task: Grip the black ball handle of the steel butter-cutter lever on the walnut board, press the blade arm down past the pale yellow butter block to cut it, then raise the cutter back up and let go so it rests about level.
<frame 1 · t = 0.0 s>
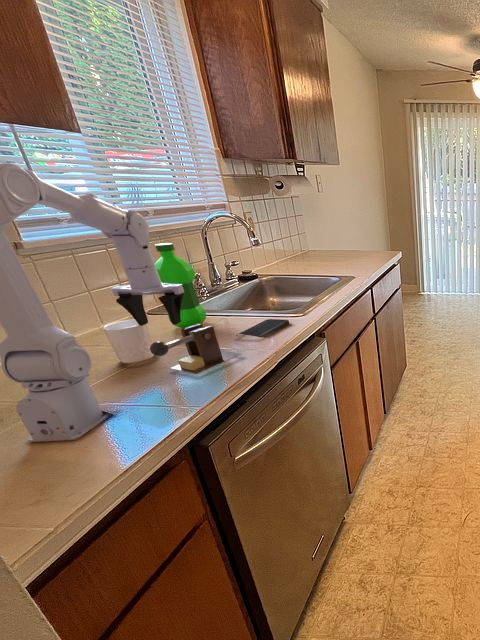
hand: (160, 323, 96), 10 cm above the counter, tool pointing down, fingers open, 7 cm apart
phone: (264, 331, 119), on the counter
white cup: (140, 362, 100), on the counter
butter: (193, 366, 94), resting on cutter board
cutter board: (209, 365, 98), on the counter
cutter: (179, 341, 90), point 8 cm above the counter, hinge at 0.0°
plastic bottle: (191, 326, 125), on the counter
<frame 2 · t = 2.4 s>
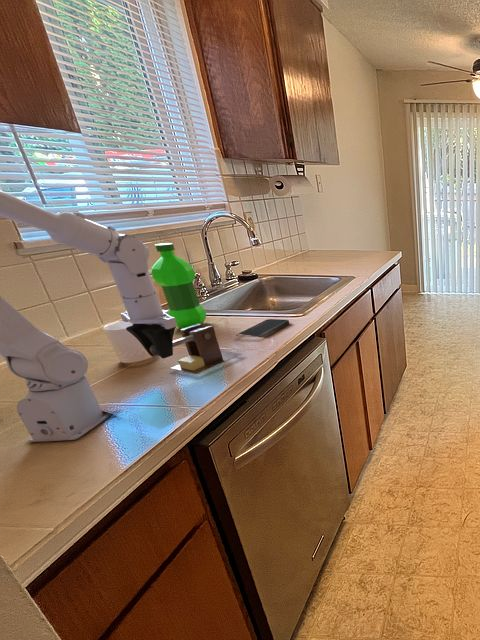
hand: (161, 355, 87), 6 cm above the counter, tool pointing down, fingers closed on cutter, 3 cm apart
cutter: (179, 341, 90), point 8 cm above the counter, hinge at 0.0°, touching gripper
everything else where it was.
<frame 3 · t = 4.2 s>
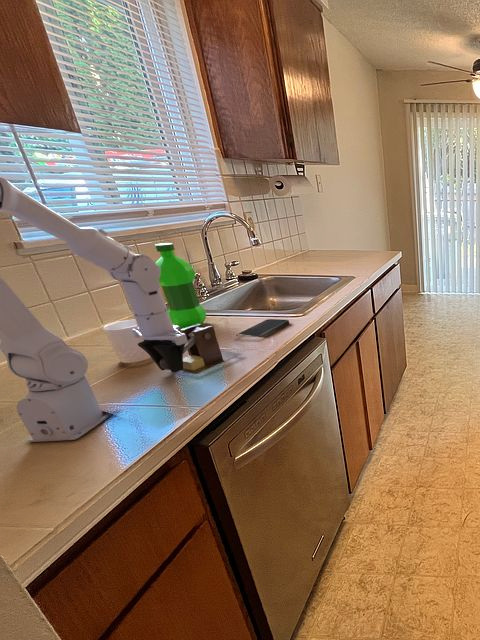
hand: (172, 369, 90), 2 cm above the counter, tool pointing down, fingers closed on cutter, 3 cm apart
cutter: (184, 348, 91), point 6 cm above the counter, hinge at -24.2°, touching gripper
everything else where it was.
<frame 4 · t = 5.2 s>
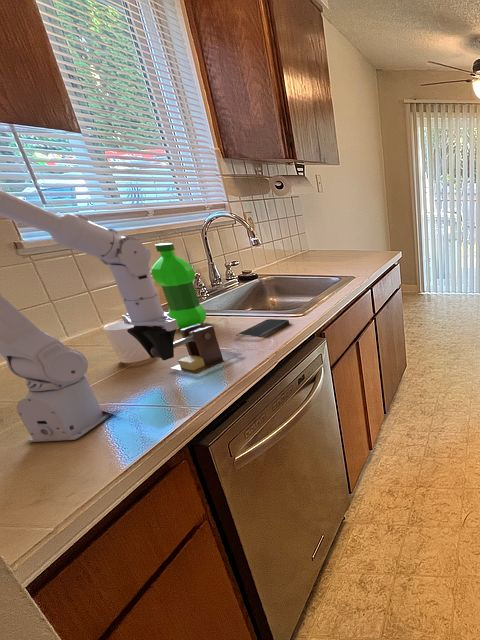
hand: (162, 357, 87), 6 cm above the counter, tool pointing down, fingers closed on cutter, 3 cm apart
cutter: (179, 342, 90), point 8 cm above the counter, hinge at -2.8°, touching gripper
everything else where it was.
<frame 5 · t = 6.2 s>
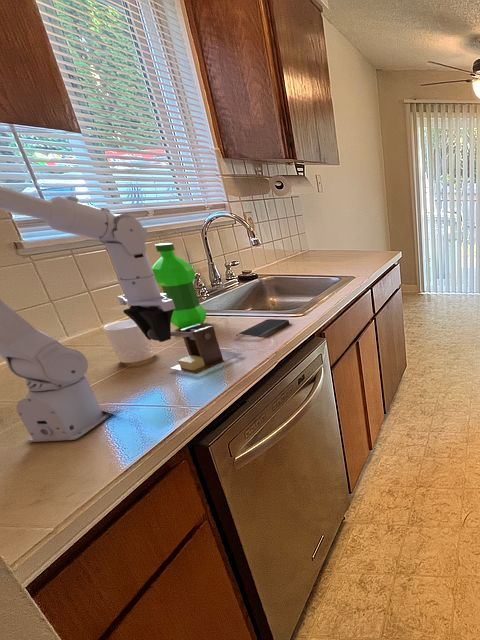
hand: (159, 339, 86), 10 cm above the counter, tool pointing down, fingers closed on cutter, 3 cm apart
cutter: (178, 334, 90), point 10 cm above the counter, hinge at 22.2°, touching gripper
everything else where it was.
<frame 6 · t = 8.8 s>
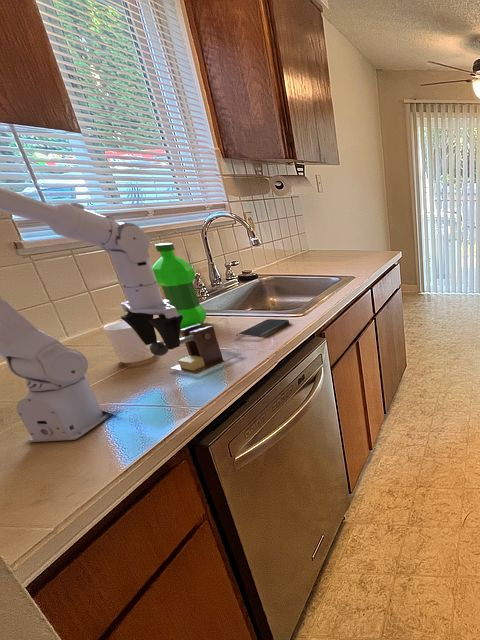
hand: (162, 345, 87), 8 cm above the counter, tool pointing down, fingers open, 7 cm apart
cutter: (179, 341, 90), point 8 cm above the counter, hinge at 0.3°
everything else where it was.
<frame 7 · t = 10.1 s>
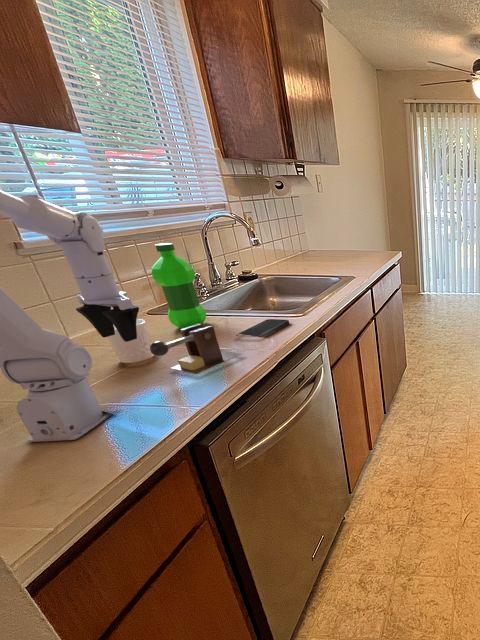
hand: (119, 338, 86), 10 cm above the counter, tool pointing down, fingers open, 7 cm apart
nothing on the counter moved.
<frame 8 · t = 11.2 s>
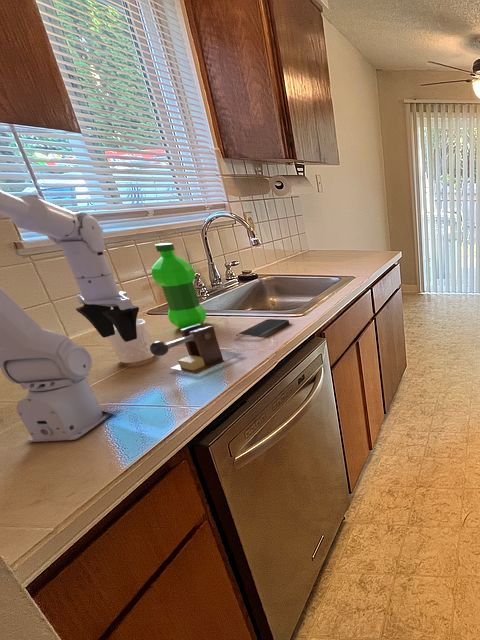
hand: (119, 338, 86), 10 cm above the counter, tool pointing down, fingers open, 7 cm apart
nothing on the counter moved.
at the end: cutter reached -24° during the clip, +0° at the end; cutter at +0° (first picture: +0°) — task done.
